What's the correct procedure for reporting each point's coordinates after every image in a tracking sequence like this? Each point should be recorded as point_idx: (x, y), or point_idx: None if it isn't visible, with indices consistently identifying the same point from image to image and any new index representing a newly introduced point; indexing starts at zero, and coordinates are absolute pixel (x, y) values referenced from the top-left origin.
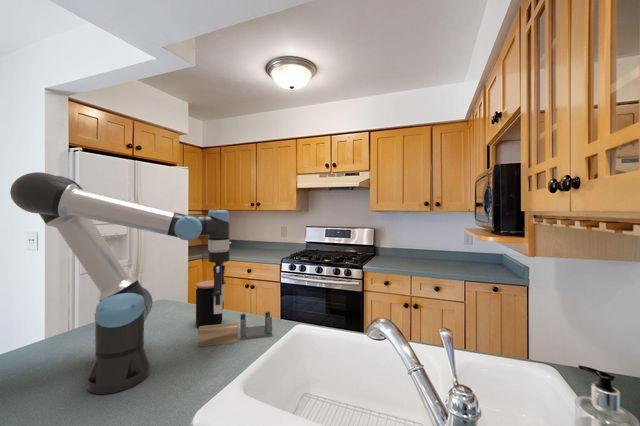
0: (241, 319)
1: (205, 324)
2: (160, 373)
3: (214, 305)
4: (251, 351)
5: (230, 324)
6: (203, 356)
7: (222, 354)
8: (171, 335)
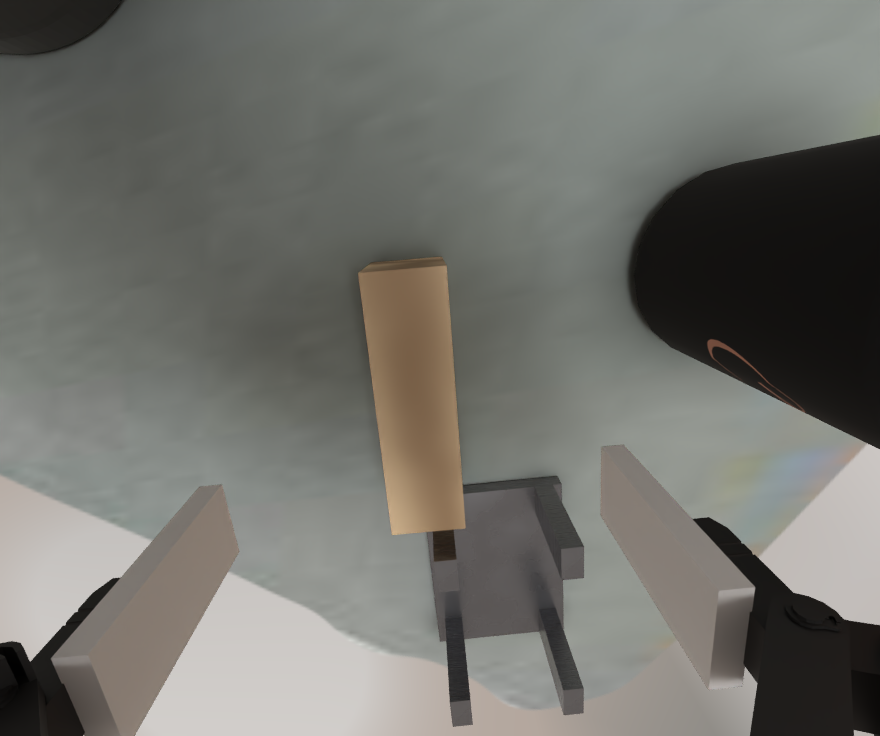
0: (551, 532)
1: (645, 258)
2: (51, 124)
3: (153, 551)
4: (282, 550)
5: (441, 485)
6: (242, 325)
7: (259, 421)
8: (589, 9)
